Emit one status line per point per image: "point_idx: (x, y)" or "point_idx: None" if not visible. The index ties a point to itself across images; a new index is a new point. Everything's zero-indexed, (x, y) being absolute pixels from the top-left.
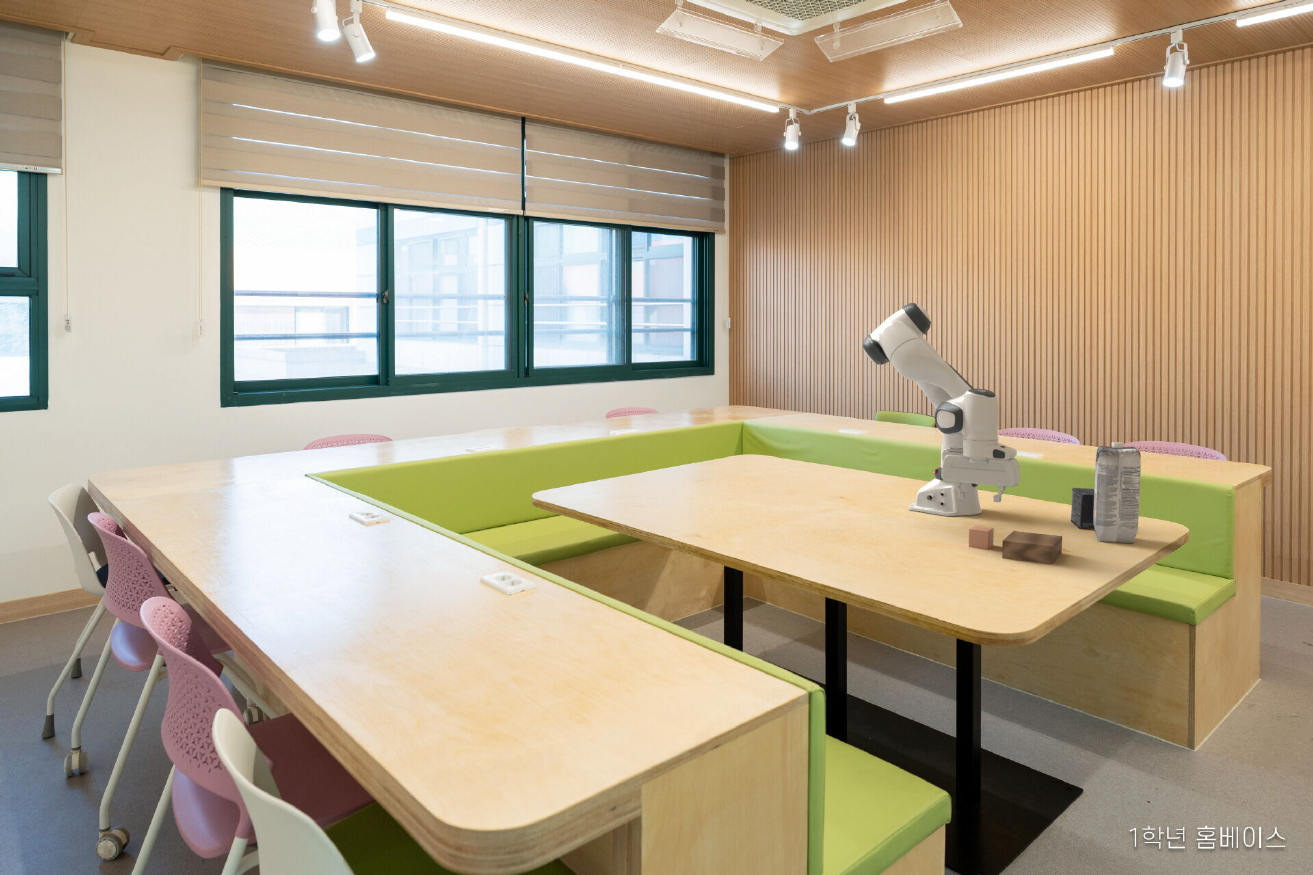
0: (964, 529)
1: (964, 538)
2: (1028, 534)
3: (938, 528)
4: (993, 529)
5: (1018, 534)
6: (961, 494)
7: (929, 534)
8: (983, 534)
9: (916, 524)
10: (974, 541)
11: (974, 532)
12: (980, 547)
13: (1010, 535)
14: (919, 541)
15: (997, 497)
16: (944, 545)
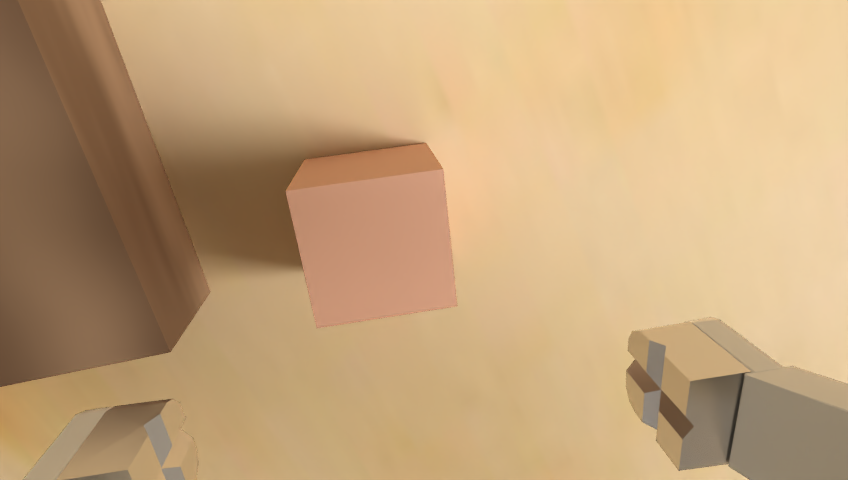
0: (595, 459)
1: (526, 305)
2: (17, 320)
3: None
4: (317, 316)
5: (69, 274)
6: (702, 352)
7: (723, 263)
8: (324, 177)
9: None
10: (390, 154)
11: (396, 170)
12: (349, 153)
13: (90, 204)
14: (733, 63)
15: (60, 457)
16: (563, 69)
